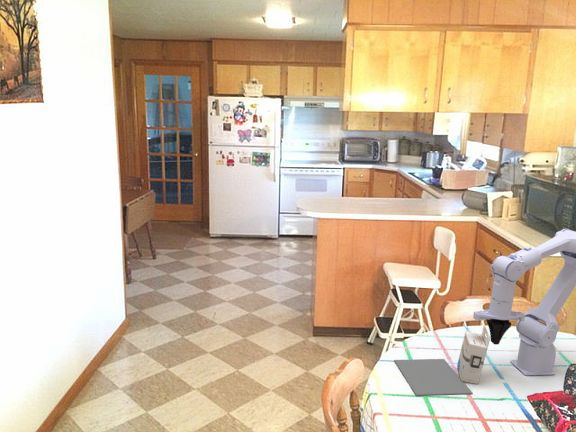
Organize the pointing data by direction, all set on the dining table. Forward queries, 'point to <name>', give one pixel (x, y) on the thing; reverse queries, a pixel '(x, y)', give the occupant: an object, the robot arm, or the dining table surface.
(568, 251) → the robot arm
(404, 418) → the dining table surface
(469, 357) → the ink box
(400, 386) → the dining table surface
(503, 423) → the dining table surface
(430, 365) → the rubber mat
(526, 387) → the dining table surface
